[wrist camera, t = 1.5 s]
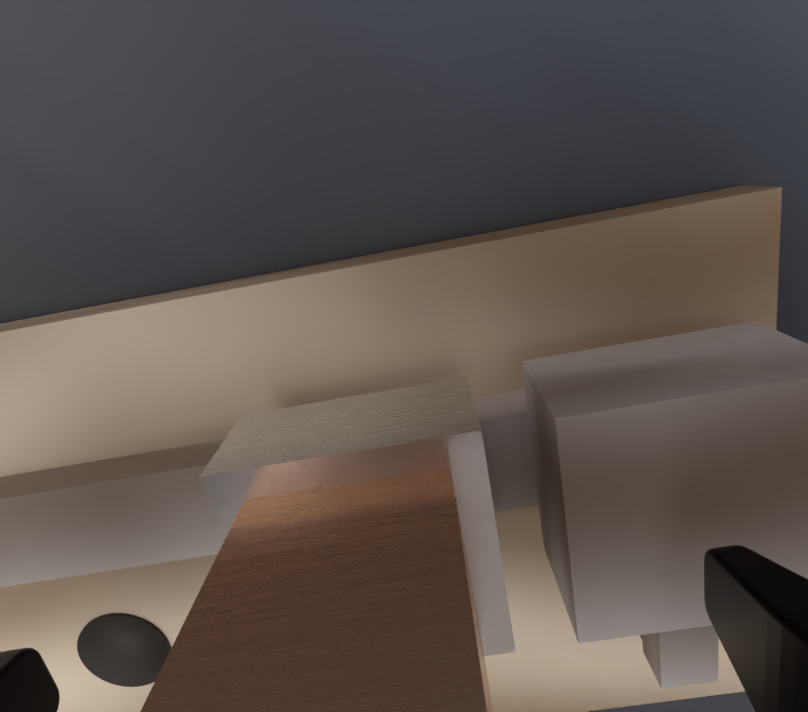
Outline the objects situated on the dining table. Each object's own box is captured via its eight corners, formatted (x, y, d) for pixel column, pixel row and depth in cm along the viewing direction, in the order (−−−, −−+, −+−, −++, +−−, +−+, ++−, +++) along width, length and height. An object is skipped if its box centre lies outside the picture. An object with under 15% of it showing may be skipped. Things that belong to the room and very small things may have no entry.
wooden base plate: (733, 648, 14) (869, 848, 10) (96, 732, 16) (-22, 944, 11) (742, 185, 11) (968, 196, 6) (-107, 343, 12) (-399, 442, 7)
